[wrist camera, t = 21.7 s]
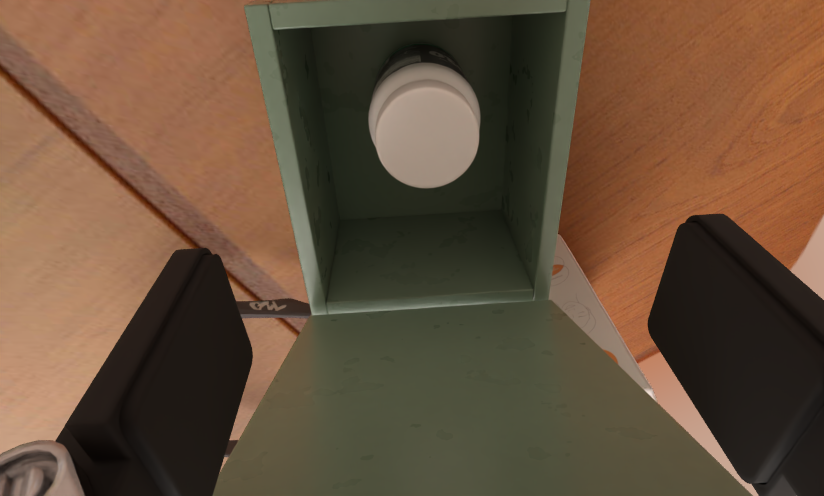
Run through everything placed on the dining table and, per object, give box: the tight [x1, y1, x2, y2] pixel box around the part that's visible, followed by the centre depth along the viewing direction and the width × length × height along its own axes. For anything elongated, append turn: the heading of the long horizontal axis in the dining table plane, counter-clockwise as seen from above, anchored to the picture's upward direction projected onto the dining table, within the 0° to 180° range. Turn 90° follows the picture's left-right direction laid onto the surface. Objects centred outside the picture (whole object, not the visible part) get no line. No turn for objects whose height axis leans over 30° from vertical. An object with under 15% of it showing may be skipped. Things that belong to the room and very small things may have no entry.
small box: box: [532, 234, 658, 403], centre depth 29 cm, size 8×6×13 cm
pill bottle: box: [368, 43, 480, 188], centre depth 22 cm, size 5×5×8 cm
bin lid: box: [213, 300, 752, 496], centre depth 16 cm, size 14×12×6 cm
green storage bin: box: [244, 0, 590, 315], centre depth 23 cm, size 14×12×9 cm
